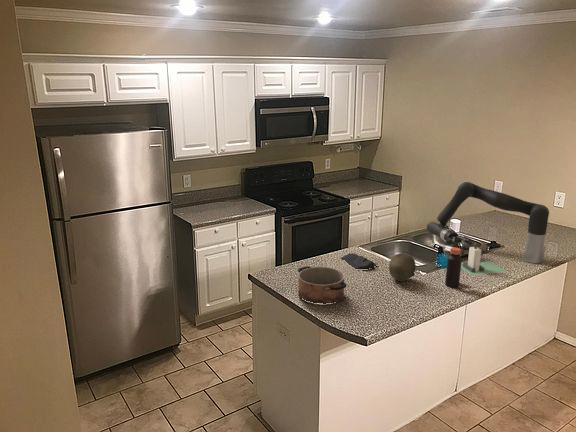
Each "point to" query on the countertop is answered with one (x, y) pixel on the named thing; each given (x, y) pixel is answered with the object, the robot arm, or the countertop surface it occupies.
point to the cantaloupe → (402, 266)
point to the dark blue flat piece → (358, 261)
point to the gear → (442, 260)
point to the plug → (474, 257)
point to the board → (486, 269)
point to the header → (472, 268)
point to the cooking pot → (321, 284)
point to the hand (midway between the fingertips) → (464, 244)
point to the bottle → (453, 268)
